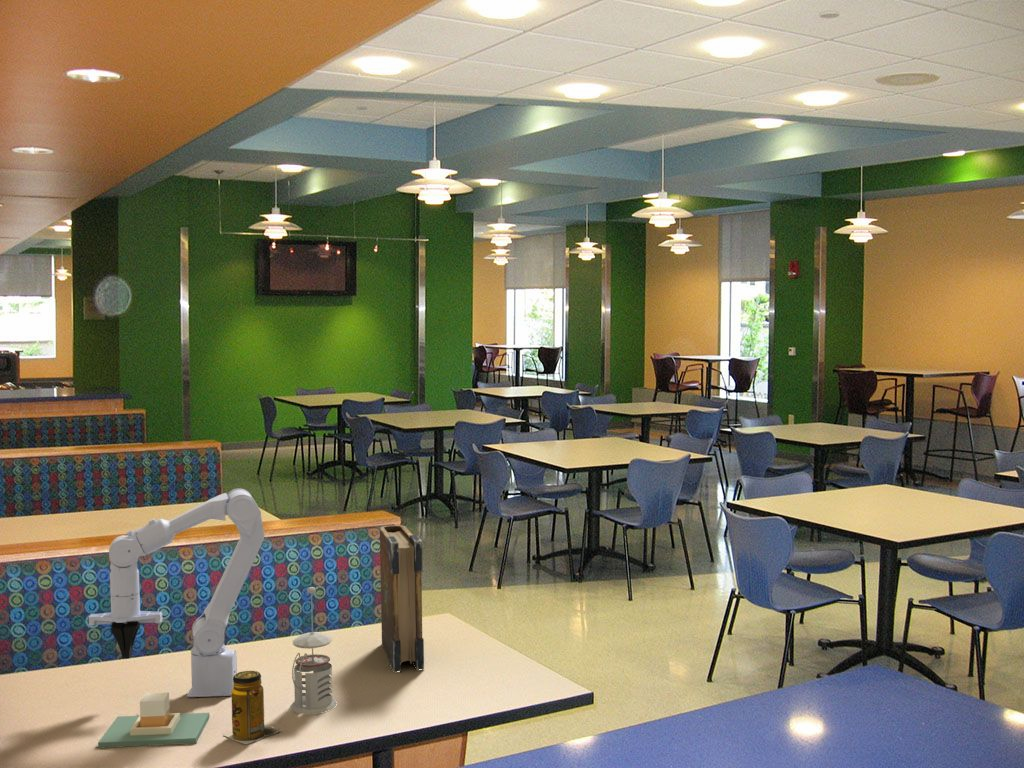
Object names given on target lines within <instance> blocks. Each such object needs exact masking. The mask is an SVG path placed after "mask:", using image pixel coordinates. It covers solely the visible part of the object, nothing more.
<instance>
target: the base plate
mask: <svg viewBox="0 0 1024 768" xmlns="http://www.w3.org/2000/svg"><path fill="white" fill-rule="evenodd" d="M209 717H211V716H210V712H193V713H180V712H173V713H172V712H170V723H169V725H168V726H162V727H141V726H140V715H123V716H121V715H119V716H116V718H115V720H113V721H112V723H111V724H110V726H109V727H108V729H107V730H106V731H105V732H104V734H103V735H102V737H101V738H100V739H99V741H98V742H97V748H98V749H102V748H120V747H121V748H122V747H123V746H126V747H143V746H144V747H146V746H147V745H148V746H164V745H165V746H167V745H185V744H186V745H189V744H197V743H198V741H199V739H200V737H201V735H202V733H203V731H204V729H205V727H206V725H207V724H208V721H209V719H210V718H209ZM148 746H147V747H148ZM123 748H124V747H123Z"/></svg>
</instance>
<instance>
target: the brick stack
mask: <svg viewBox="0 0 1024 768" xmlns="http://www.w3.org/2000/svg"><path fill="white" fill-rule="evenodd" d="M170 710H171V709H170V692H166V691H165V692H148V693H147V692H146V693H144V695H143V696H142V698H141V699H140V700H139V716H140V726H141V727H162V726H168V725H169V723H170V713H171V712H170Z"/></svg>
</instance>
